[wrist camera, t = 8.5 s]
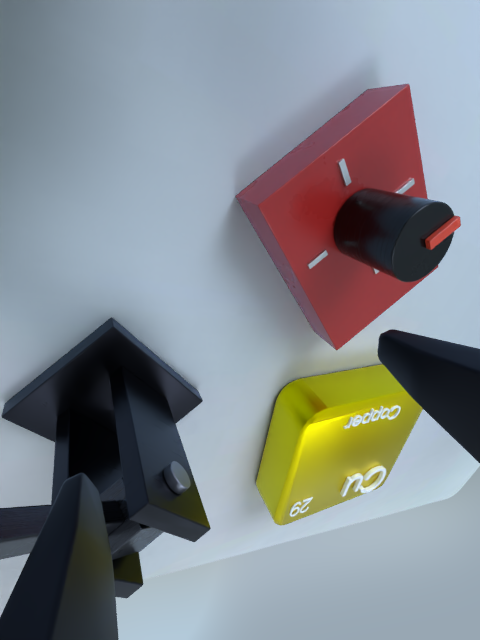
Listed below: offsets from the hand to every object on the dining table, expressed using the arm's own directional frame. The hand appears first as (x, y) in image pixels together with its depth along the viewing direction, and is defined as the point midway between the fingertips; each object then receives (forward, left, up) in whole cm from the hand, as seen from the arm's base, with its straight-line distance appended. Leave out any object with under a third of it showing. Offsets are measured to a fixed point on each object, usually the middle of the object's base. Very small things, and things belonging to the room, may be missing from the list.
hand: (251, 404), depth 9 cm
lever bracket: (+5, -8, -12) cm, 16 cm away
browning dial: (+5, +11, -9) cm, 15 cm away
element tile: (+25, +2, -12) cm, 28 cm away
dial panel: (+6, +11, -12) cm, 17 cm away
